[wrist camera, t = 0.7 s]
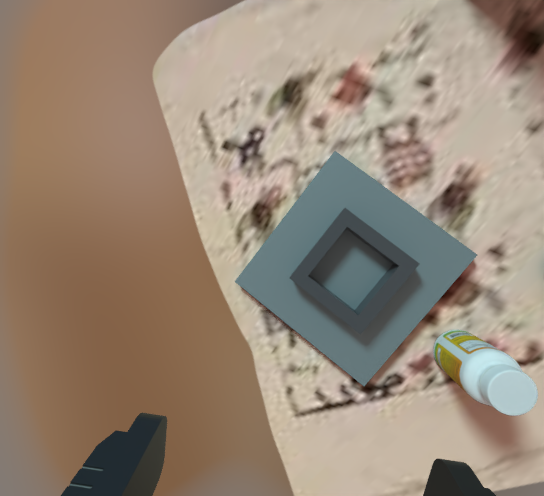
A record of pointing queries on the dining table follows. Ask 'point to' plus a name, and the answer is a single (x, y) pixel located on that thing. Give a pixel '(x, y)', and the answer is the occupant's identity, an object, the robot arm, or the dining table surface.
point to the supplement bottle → (485, 372)
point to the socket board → (353, 268)
